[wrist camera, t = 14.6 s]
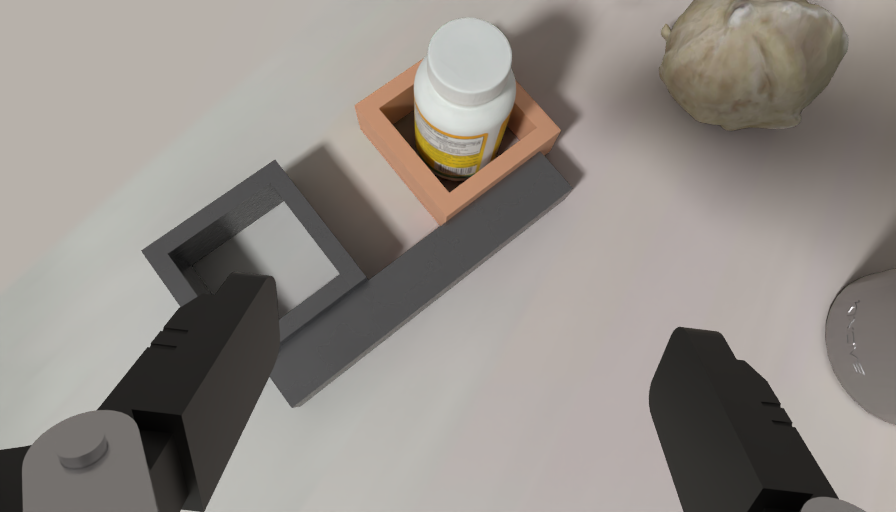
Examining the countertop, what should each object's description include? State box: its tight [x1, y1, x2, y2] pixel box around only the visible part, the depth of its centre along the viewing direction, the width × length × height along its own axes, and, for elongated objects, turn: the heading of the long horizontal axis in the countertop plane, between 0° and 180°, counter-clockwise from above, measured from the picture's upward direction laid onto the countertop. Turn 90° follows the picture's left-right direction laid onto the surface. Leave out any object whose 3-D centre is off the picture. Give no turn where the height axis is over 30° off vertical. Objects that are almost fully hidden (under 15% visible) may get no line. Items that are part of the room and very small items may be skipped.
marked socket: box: [355, 58, 561, 226], centre depth 33 cm, size 9×9×3 cm
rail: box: [141, 151, 573, 408], centre depth 31 cm, size 21×12×3 cm, turn 129°
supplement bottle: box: [414, 18, 516, 181], centre depth 30 cm, size 5×5×10 cm
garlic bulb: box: [659, 0, 848, 131], centre depth 31 cm, size 9×8×10 cm
